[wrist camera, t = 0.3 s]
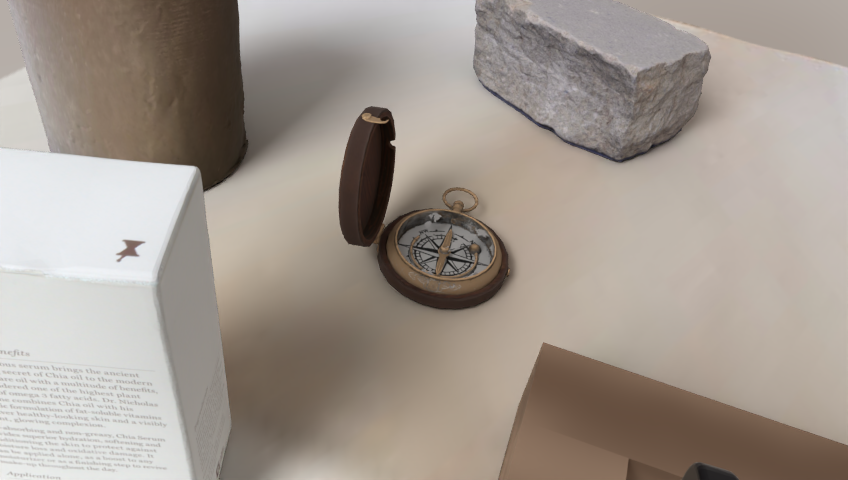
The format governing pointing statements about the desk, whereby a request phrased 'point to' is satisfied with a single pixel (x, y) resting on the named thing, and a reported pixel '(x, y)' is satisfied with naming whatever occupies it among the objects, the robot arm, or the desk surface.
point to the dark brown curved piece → (415, 227)
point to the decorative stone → (591, 71)
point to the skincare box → (107, 322)
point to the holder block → (647, 430)
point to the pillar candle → (138, 79)
